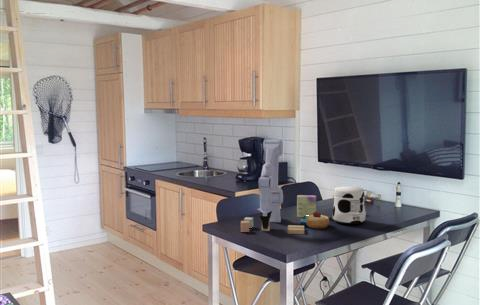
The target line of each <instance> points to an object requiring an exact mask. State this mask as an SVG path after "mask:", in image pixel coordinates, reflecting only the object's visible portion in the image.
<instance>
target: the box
mask: <svg viewBox="0 0 480 305" xmlns="http://www.w3.org/2000/svg"><path fill="white" fill-rule="evenodd" d="M314 212H317V196H316V195H315V194H314V195H313V194H311V195H309V194H308V195H305V194H304V195H303V194H297V196H296V215H297V218H305V217H304V216H305V215H313V213H314Z"/></svg>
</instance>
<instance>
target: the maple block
mask: <svg viewBox="0 0 480 305" xmlns="http://www.w3.org/2000/svg"><path fill="white" fill-rule="evenodd" d="M261 231H262V232H270V231H271V222H270V219H269V223H268V229H263V225H262V221H261Z"/></svg>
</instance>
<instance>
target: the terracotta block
mask: <svg viewBox="0 0 480 305" xmlns="http://www.w3.org/2000/svg"><path fill="white" fill-rule="evenodd" d="M240 232H249V233H250V229H249V221H244V220H240Z"/></svg>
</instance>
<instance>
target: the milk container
mask: <svg viewBox="0 0 480 305" xmlns="http://www.w3.org/2000/svg"><path fill="white" fill-rule="evenodd" d="M333 195H334V197H333V201H334V202H333V208H332V211H331V214H332V220H333V221H335V222H336V223H340V224H344V225H358V224H362V223H364V221H365V220H366V216H367V212H366V208H365V189H364V188H363V187H358V186H348V185H347V186H345V185H344V186H337V187H334V193H333Z"/></svg>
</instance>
